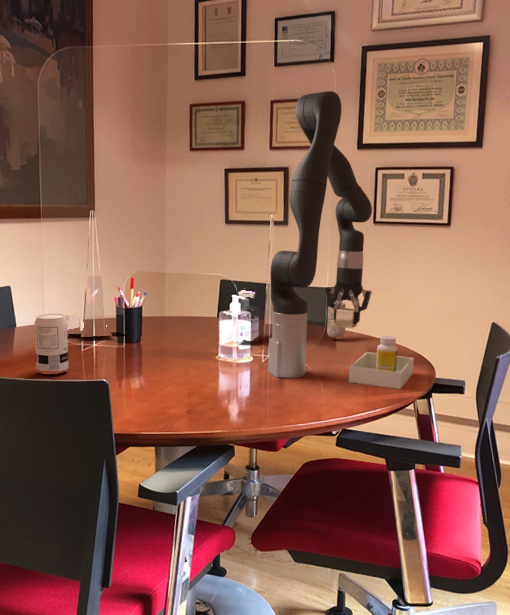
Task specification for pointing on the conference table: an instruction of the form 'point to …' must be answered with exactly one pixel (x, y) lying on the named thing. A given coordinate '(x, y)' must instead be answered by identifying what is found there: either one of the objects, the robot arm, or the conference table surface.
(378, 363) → the supplement bottle
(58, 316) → the supplement can
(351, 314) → the birch cube
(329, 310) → the carving
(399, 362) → the box
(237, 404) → the conference table surface
